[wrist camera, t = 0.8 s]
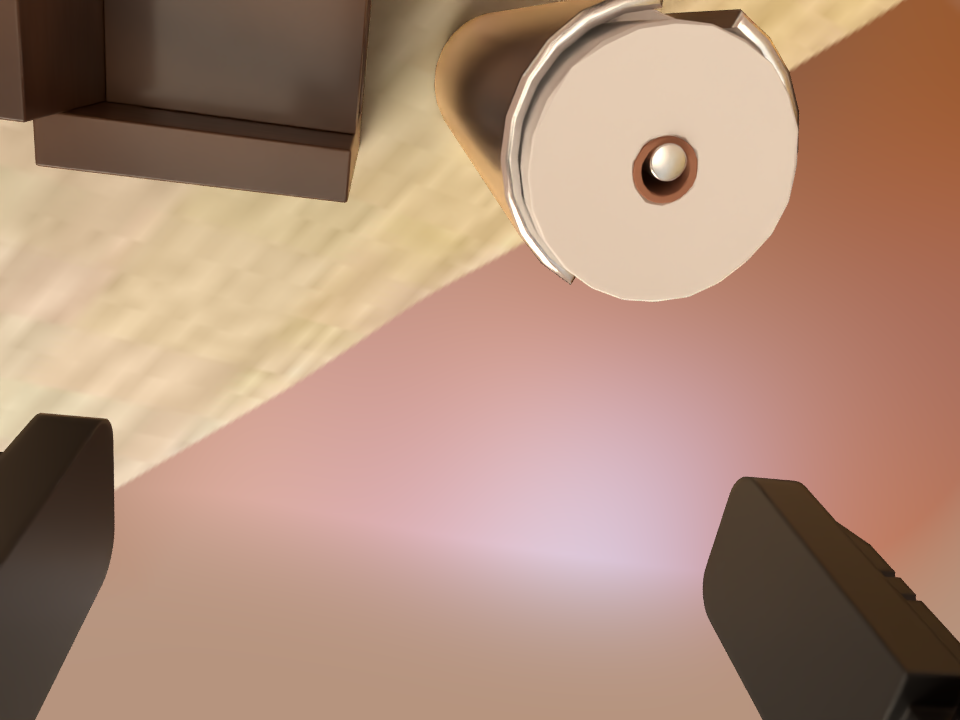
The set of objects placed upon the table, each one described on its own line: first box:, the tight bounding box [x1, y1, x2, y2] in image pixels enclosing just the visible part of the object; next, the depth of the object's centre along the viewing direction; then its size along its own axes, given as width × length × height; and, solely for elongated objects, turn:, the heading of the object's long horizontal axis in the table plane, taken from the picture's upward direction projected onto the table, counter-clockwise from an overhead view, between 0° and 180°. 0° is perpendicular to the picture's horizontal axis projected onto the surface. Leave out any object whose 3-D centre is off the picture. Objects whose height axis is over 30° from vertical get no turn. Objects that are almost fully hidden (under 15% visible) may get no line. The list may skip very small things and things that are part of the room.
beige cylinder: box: [434, 0, 799, 302], centre depth 27 cm, size 6×6×25 cm
